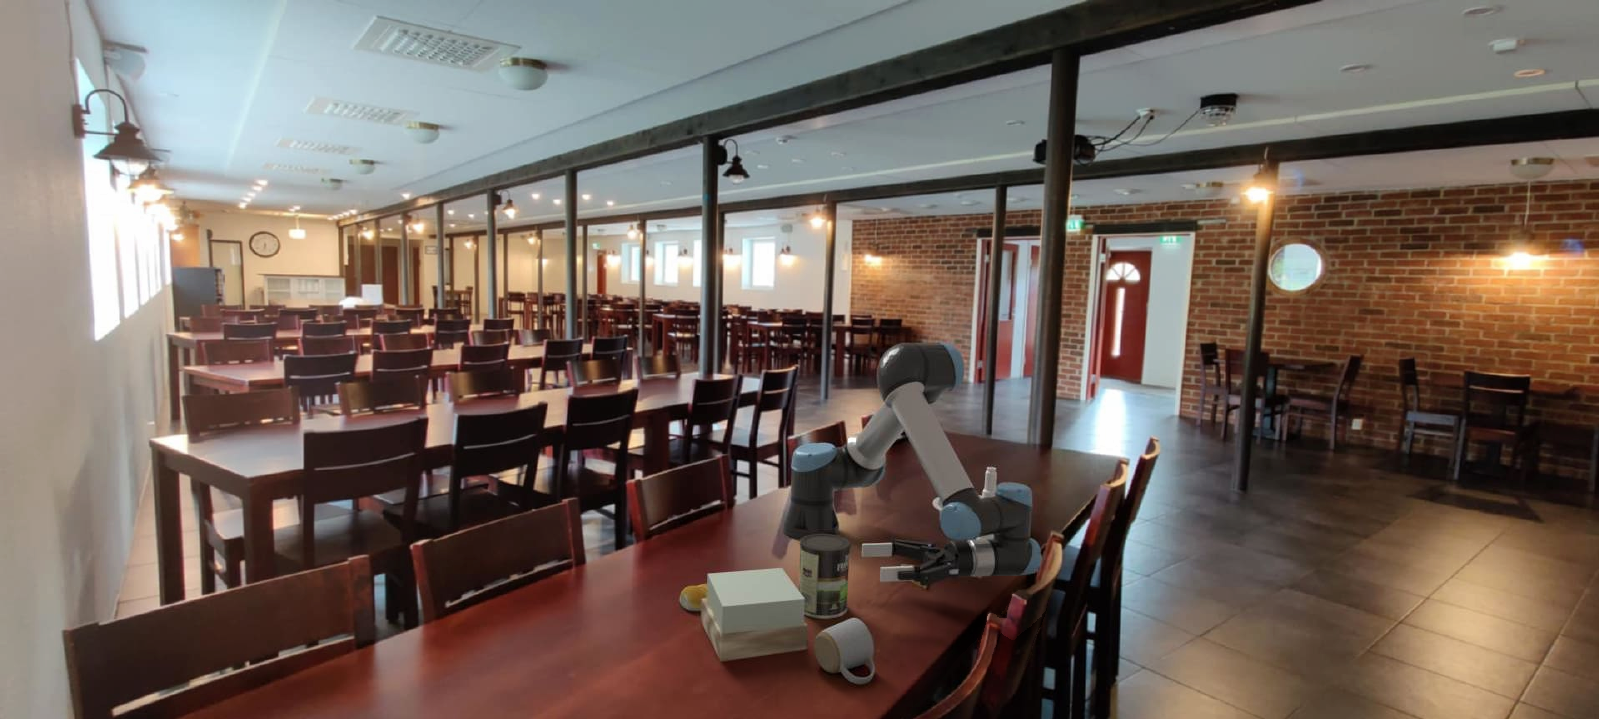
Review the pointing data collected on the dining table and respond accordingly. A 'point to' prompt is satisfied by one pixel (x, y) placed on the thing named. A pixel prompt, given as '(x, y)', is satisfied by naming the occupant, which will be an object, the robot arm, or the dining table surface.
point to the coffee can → (824, 575)
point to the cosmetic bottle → (989, 490)
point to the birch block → (751, 639)
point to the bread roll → (693, 597)
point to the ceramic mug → (845, 649)
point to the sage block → (754, 600)
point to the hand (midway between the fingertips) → (870, 562)
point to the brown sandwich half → (913, 580)
